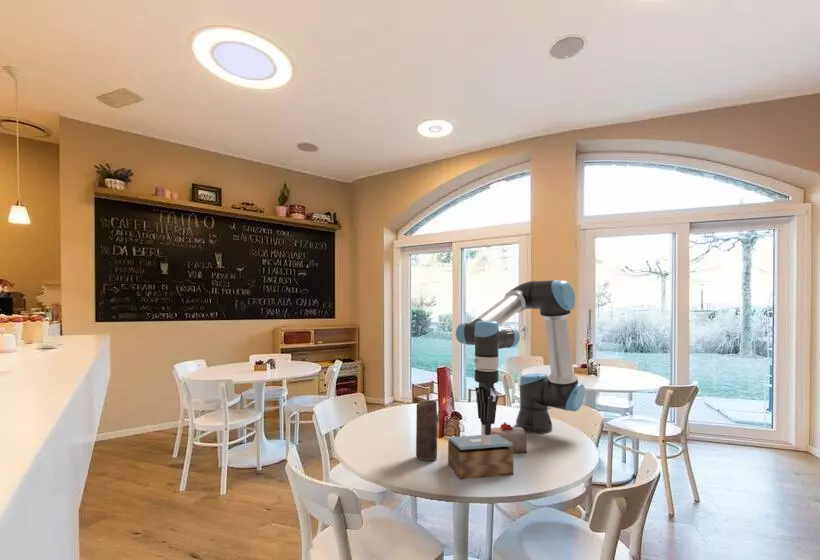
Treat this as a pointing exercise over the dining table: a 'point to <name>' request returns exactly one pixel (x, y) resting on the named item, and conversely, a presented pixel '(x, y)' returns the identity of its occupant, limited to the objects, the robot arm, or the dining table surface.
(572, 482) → the dining table surface
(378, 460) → the dining table surface
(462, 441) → the lid
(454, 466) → the box
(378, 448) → the dining table surface
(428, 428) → the candle
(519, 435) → the food item
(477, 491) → the dining table surface
